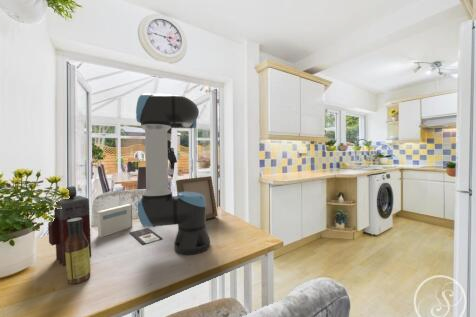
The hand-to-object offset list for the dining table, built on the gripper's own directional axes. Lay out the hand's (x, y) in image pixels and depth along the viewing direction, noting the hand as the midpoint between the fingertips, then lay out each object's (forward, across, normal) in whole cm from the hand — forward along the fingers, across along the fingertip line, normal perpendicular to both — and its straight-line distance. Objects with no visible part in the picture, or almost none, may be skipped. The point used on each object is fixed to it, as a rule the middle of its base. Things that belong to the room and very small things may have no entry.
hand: (162, 174), depth 135 cm
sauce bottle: (+36, -26, +55) cm, 71 cm away
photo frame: (+26, -19, -10) cm, 34 cm away
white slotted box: (+30, +4, +25) cm, 39 cm away
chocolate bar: (+31, -15, +22) cm, 41 cm away
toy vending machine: (+34, -8, +50) cm, 61 cm away
